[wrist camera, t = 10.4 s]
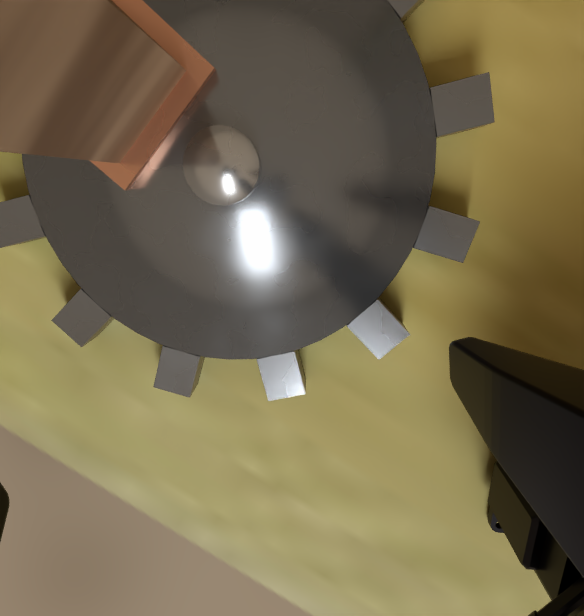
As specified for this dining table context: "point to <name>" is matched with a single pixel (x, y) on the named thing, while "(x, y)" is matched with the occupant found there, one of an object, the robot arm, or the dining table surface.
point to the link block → (78, 79)
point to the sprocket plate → (258, 187)
